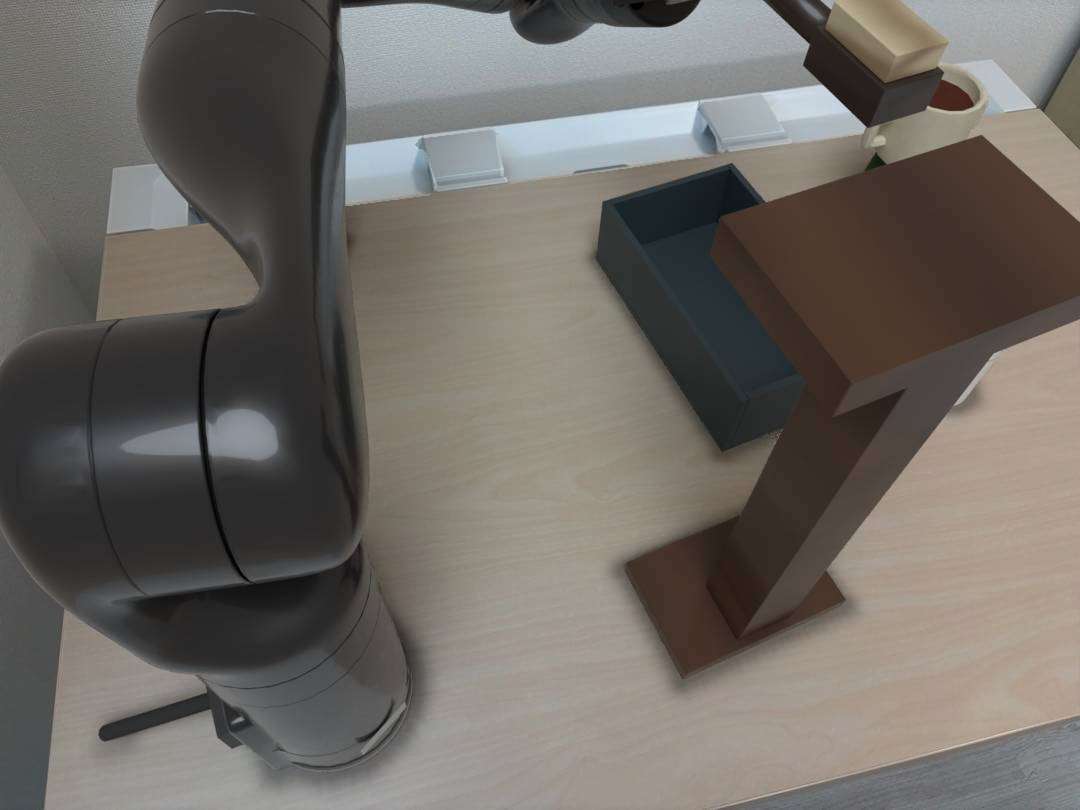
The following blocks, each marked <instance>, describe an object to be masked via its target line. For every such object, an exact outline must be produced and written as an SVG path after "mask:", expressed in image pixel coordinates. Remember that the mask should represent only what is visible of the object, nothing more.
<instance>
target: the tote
mask: <svg viewBox="0 0 1080 810" xmlns="http://www.w3.org/2000/svg"><path fill="white" fill-rule="evenodd" d="M766 202H767V201H765V199H764V198H763V197H762V196H761V195H760V194H759V192H758V191H757V190H756V188H754V187H753V185H752V183H750V182H749V181H748V179H747V178H746V177H745V176H744V174H743V173H742V172H741V171H740V170H739V168H737V166H736V165H735V164H734V163H733V162H730V163H727V164H724V165H720V166H718V167H714V168H711V169H708V170H704V171H701V172H697V173H693V174H691V175H687V176H683V177H681V178H680V177H679V178H677V179H673V180H670V181H667V182H663V183H660V184H657V185H653V186H650V187H646V188H642V189H639V190H636V191H633V192H630V193H626V194H622V195H619V196H616V197H612V198H609V199H606V200H603V201H602V203H601V213H600V220H599V221H600V222H599V229H598V230H599V231H598V237H597V249H596V258H595V259H596V262H597V263H598V264H599V265H600V267H601V269H602V270H603V272H604V273H605V275H606V277H607V278H608V279H609V281H610V282H611V284H612V286H613V287H614V289H615V290H616V292H617V293H618V294H619V296H620V299H622V301H623V302H624V304H625V306H626V307H627V309H628V310H629V311H630V313H631V314H632V316H633V318H634V319H635V321H636V322H637V324H638V325H639V327H640V328H641V330H642V332H643V333H644V335H645V336H646V338H647V339H648V340H649V342H650V344H651V345H652V347H653V349H654V350H655V351H656V353H657V355H658V356H659V358H660V359H661V361H662V362H663V364H664V365H665V367H666V368H667V370H668V371H669V373H670V374H671V376H672V378H673V379H674V380H675V381H676V384H677V385H678V387H679V388H680V391H682V392H683V395H684V396H685V398H686V399H687V401H688V402H689V403H690V405H691V406H692V408H693V410H694V411H695V413H696V414H697V416H698V417H699V419H700V420H701V422H702V423H703V425H704V427H705V428H706V430H707V431H708V432H709V434H710V435H711V437H712V438H713V440H714V441H715V443H716V444H717V446H718V448H719V450H720V451H721V452H725V451H728V450H730V449H732V448H736V447H737V446H740V445H742V444H745V443H748V442H751V441H753V440H755V439H759V438H761V437H763V436H766V435H768V434H771V433H773V432H775V431H778V430H781V429H783V427H784V425H785V423H786V421H787V419H788V417H789V415H790V413H791V411H792V409H793V407H794V405H795V403H796V401H797V399H798V397H799V395H800V393H801V391H802V389H803V387H804V385H805V383H806V382H805V381H804V379H803V378H802V377H801V375H800V374H799V373H798V371H797V370H796V369H795V367H794V366H793V365H792V363H791V362H790V361H789V359H788V358H787V357H786V355H785V354H784V353H783V352H782V350H781V349H780V348H779V346H778V345H777V344H776V342H775V341H774V340H773V338H772V337H771V336H770V334H769V333H768V332H767V330H766V329H765V328H764V326H763V325H762V324H761V322H760V321H759V320H758V318H757V317H756V316H755V315H754V313H753V312H752V311H751V309H750V308H749V307H748V305H747V304H746V303H745V301H744V300H743V299H742V297H741V296H740V295H739V293H738V292H737V291H736V289H735V288H734V287H733V285H732V284H731V283H730V282H729V280H728V279H727V278H726V276H725V275H724V274H723V272H722V271H721V270H720V268H719V267H718V266H717V264H716V263H715V262H714V260H713V259H712V258H711V256H710V253H711V249H712V245H713V242H714V238H715V234H716V230H717V227H718V223H719V219H720V217H721V216H724V215H727V214H730V213H734V212H737V211H740V210H743V209H746V208H750V207H753V206H756V205H759V204H762V203H766Z"/></svg>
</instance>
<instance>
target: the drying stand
mask: <svg viewBox="0 0 1080 810" xmlns="http://www.w3.org/2000/svg"><path fill="white" fill-rule="evenodd" d="M863 171H864V170H863ZM863 171H861V172H857V173H855V174H852V175H849V176H846V177H842V178H839V179H835V180H833V181H830V182H826V183H824V184H819V185H817V186H813V187H811V188H807V189H804V190H801V191H798V192H795V193H794V192H793V193H791V194H788V195H785V196H782V197H779V198H775V199H772V200H769V201H765V202H766V203H762V204H759V205H756V206H753V207H750V208H746V209H743V210H740V211H737V212H734V213H730V214H727V215H724V216H721V217H720V219H719V223H718V227H717V230H716V234H715V238H714V242H713V245H712V249H711V253H710V256H711V258H712V259H713V260H714V262H715V263H716V264H717V266H718V267H719V268H720V270H721V271H722V272H723V274H724V275H725V276H726V278H727V279H728V280H729V282H730V283H731V284H732V285H733V287H734V288H735V289H736V291H737V292H738V293H739V295H740V296H741V297H742V299H743V300H744V301H745V303H746V304H747V305H748V307H749V308H750V309H751V311H752V312H753V313H754V315H755V316H756V317H757V318H758V320H759V321H760V322H761V324H762V325H763V326H764V328H765V329H766V330H767V332H768V333H769V334H770V336H771V337H772V338H773V340H774V341H775V342H776V344H777V345H778V346H779V348H780V349H781V350H782V352H783V353H784V354H785V355H786V357H787V358H788V359H789V361H790V362H791V363H792V365H793V366H794V367H795V369H796V370H797V371H798V373H799V374H800V375H801V377H802V378H803V379H804V381H805V382H806V383H805V385H804V387H803V389H802V391H801V393H800V395H799V397H798V399H797V401H796V403H795V405H794V407H793V409H792V411H791V413H790V415H789V417H788V419H787V421H786V423H785V425H784V427H783V428H782V430H781V431H780V434H779V436H778V438H777V440H776V442H775V444H774V445H773V448H772V450H771V452H770V454H769V456H768V458H767V460H766V462H765V464H764V466H763V469H762V470H761V472H760V475H759V476H758V478H757V480H756V482H755V485H754V487H753V489H752V491H751V492H750V495H749V496H748V499H747V500H746V503H745V505H744V507H743V509H742V511H741V513H740V515H738V516H736V517H733V518H731V519H729V520H726V521H724V522H721V523H719V524H717V525H714V526H712V527H709V528H707V529H704V530H701V531H700V532H697V533H695V534H693V535H690V536H688V537H685V538H683V539H681V540H678V541H676V542H674V543H671V544H669V545H667V546H664V547H661V548H659V549H656V550H654V551H651V552H650V553H647V554H645V555H643V556H640V557H637V558H635V559H633V560H631V561H628V562H626V564H625V567H624V572H625V574H626V575H627V577H628V579H629V581H630V583H631V585H632V586H633V588H634V591H635V592H636V594H637V596H638V598H639V600H640V602H641V604H642V605H643V607H644V609H645V611H646V613H647V615H648V617H649V619H650V621H651V622H652V624H653V627H654V628H655V630H656V632H657V634H658V636H659V637H660V639H661V641H662V643H663V645H664V647H665V649H666V651H667V653H668V654H669V656H670V658H671V660H672V662H673V664H674V666H675V668H676V669H677V671H678V673H679V676H680V678H681V679H682V680H686V679H687V678H689V677H690V678H691V677H692V676H694V675H696V674H698V673H701V672H703V671H705V670H707V669H709V668H711V667H713V666H715V665H718V664H720V663H722V662H725V661H727V660H729V659H730V658H733V657H735V656H737V655H739V654H741V653H743V652H746V651H748V650H750V649H752V648H754V647H756V646H759V645H760V644H763V643H765V642H768V641H769V640H772V639H773V638H775V637H778V636H780V635H782V634H784V633H787V632H789V631H790V630H793V629H795V628H797V627H799V626H801V625H804V624H805V623H809V622H811V621H812V620H814V619H817V618H818V617H820V616H824V615H825V614H828V613H829V612H831V611H834V610H836V609H838V608H840V607H842V605H843V604H844V603H845V602H846V601H847V599H846V598H845V596H844V595H843V593H842V592H841V590H840V588H839V587H838V586H837V583H836V582H835V581H834V579H833V578H832V576H831V575H830V573H829V572H828V571H827V570H828V569H829V567H830V566H831V564H833V562H834V561H835V560H836V558H837V557H838V555H840V553H841V551H842V550H843V549H844V548H845V547H846V546H847V544H848V543H849V542H850V540H851V539H852V538H853V536H854V535H855V534H856V532H857V531H858V530H859V529H860V527H861V526H862V524H864V522H865V521H866V520H867V518H868V517H869V516H870V515H871V513H872V512H873V511H874V509H875V508H876V506H877V505H878V504H879V503H880V501H881V500H882V499H883V497H884V496H885V495H886V493H887V492H888V491H889V489H890V488H891V487H892V486H893V485H894V483H895V482H896V481H897V479H898V478H900V476H901V474H903V472H904V470H905V469H906V468H907V467H908V465H909V464H910V463H911V462H912V460H913V459H914V457H915V456H916V455H917V453H918V452H919V451H920V450H921V448H923V446H924V444H925V443H926V442H927V441H928V439H929V438H930V437H931V435H932V434H933V433H934V432H935V431H936V429H937V427H938V426H939V425H940V424H941V422H942V421H943V420H944V418H945V417H947V415H948V413H949V412H950V411H951V409H952V408H953V407H955V406H954V404H955V403H956V402H957V400H958V399H959V398H960V396H961V395H962V394H963V393H964V391H965V390H966V389H967V387H968V386H969V385H970V384H971V382H972V381H973V380H974V378H975V377H976V376H977V374H978V373H979V372H980V371H981V369H982V368H983V367H984V365H985V364H986V363H987V362H988V360H989V359H990V358H991V356H992V355H993V354H994V353H996V352H999V351H1001V350H1003V351H1004V350H1006V349H1008V348H1012V347H1014V346H1017V345H1018V344H1021V343H1024V342H1027V341H1029V340H1032V339H1034V338H1036V337H1039V336H1042V335H1044V334H1046V333H1049V332H1052V331H1054V330H1056V329H1057V330H1058V329H1059V328H1061V327H1064V326H1066V325H1069V324H1072V323H1074V322H1076V321H1079V320H1080V221H1079V220H1078V218H1076V217H1075V216H1074V215H1073V214H1071V212H1069V210H1067V209H1066V208H1065V207H1063V206H1062V205H1061V204H1060V203H1059V201H1057V200H1056V199H1055V198H1053V196H1051V195H1050V194H1049V193H1048V192H1047V191H1046V190H1044V189H1043V187H1041V186H1040V185H1039V184H1038V183H1036V182H1035V180H1034V179H1032V178H1031V177H1030V176H1029V175H1028V174H1027V173H1026V172H1024V171H1023V170H1022V169H1021V168H1020V167H1019V166H1018V165H1017V164H1015V163H1014V162H1013V161H1012V160H1011V159H1010V158H1009V157H1008V156H1006V155H1005V154H1004V153H1003V152H1002V151H1001V150H1000V149H998V148H997V147H996V146H995V145H994V144H993V143H992V142H991V141H990V140H988V139H987V138H986V137H985V136H984V135H982V134H980V135H977V136H973V137H969V138H967V139H966V140H963V141H960V142H957V143H954V144H950V145H947V146H944V147H941V148H938V149H935V150H931V151H928V152H925V153H922V154H919V155H915V156H912V157H909V158H906V159H903V160H899V161H896V162H893V163H890V164H887V165H883V166H880V167H877V168H874V169H871V170H868V171H864V172H863Z"/></svg>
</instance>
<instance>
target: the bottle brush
mask: <svg viewBox="0 0 1080 810" xmlns="http://www.w3.org/2000/svg"><path fill="white" fill-rule="evenodd" d="M762 1H763V2H764V3H765V4H766V5H767V6H768V7H769V8H770V9H771V10H772V11H773V12H775V13H776V15H778V16H779V17H780V18H781V19H782V20H783V22H785V23H786V24H787V25H789V26H790V27H791V28H792V29H793V30H794V31H795V33H796V34H798V35H799V36H800V37H801V38H802V39H803V40H804V41H805V42H806V43H807V44H809V46H808V48H807V51H806V54H805V58H804V60H803V63H802V66H803V68H805V69H806V70H807V71H808V72H809V73H810V74H811V75H812V76H813V77H814V79H816V80H817V81H818V82H819V83H820V84H821V85H822V86H823V87H824V88H825V89H826V90H827V91H828V92H830V94H832V95H833V96H834V98H835V99H837V100H838V102H840V103H841V104H842V105H843V106H844V107H845V108H846V109H847V110H848V111H849V112H850V113H851V114H852V115H853V116H854V117H855V118H856V119H857V120H858V121H859V122H860V123H861V124H862V125H863V126H865V128H866V127H867V128H871V127H874V126H877V125H880V124H884V123H887V122H890V121H893V120H897V119H900V118H903V117H906V116H910V115H913V114H916V113H919V112H923V111H925V110H926V109H927V107H928V105H929V103H930V101H931V99H932V97H933V95H934V93H935V91H936V89H937V87H938V85H939V83H940V81H941V79H942V77H943V75H944V71H942V70H941V69H940V68H939V67H938V66H937V65H938V63H939V61H941V59H942V56H944V53H945V50H946V48H947V46H948V44H949V42H950V41H949V39H948V38H946V37H945V36H944V35H943V34H941V33H940V32H939V31H938V30H936V28H934V27H932V26H931V25H930V24H929V23H928V22H926V21H925V20H924V19H923V18H922V17H920V15H918V14H917V13H916V12H914V11H913V10H912V9H911V8H909V6H907V5H906V4H904V2H902V1H901V0H834V2H833V4H832V7H831V8H830V7H829V6H828V5H826V4H825V3H824V2H823V0H762Z"/></svg>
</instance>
